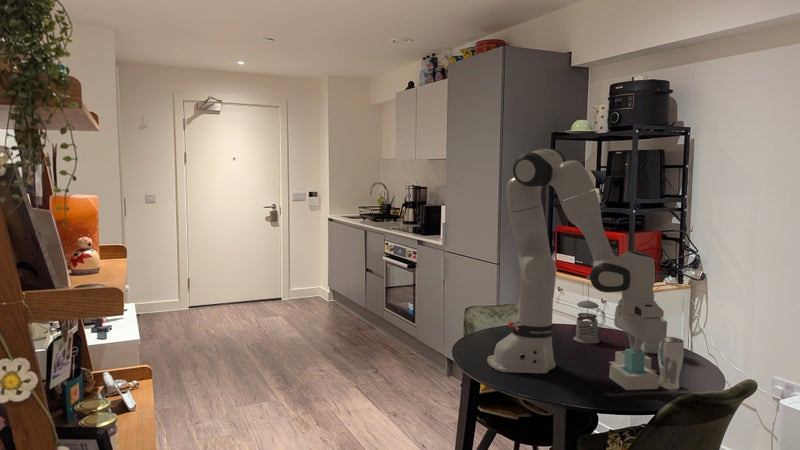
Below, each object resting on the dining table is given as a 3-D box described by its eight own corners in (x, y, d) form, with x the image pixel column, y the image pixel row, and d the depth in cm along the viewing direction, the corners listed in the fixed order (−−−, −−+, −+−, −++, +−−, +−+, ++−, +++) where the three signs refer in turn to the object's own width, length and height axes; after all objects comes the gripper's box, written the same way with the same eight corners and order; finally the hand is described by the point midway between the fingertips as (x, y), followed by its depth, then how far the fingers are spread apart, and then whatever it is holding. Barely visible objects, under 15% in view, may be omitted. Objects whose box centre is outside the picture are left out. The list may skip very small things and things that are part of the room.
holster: (625, 375, 178) (626, 361, 177) (608, 364, 188) (609, 350, 188) (657, 374, 179) (658, 360, 179) (638, 363, 190) (639, 349, 190)
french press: (570, 335, 222) (572, 273, 219) (599, 336, 221) (602, 274, 219) (576, 343, 212) (579, 278, 210) (607, 343, 211) (611, 278, 209)
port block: (626, 393, 163) (627, 376, 163) (609, 380, 173) (609, 365, 173) (658, 391, 165) (658, 375, 164) (639, 379, 174) (639, 363, 174)
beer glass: (673, 383, 171) (676, 336, 170) (686, 392, 164) (689, 343, 163) (651, 383, 171) (654, 336, 170) (662, 392, 164) (665, 343, 163)
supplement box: (665, 356, 198) (667, 321, 196) (643, 354, 199) (645, 320, 198) (660, 350, 205) (662, 316, 204) (639, 348, 206) (640, 315, 205)
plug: (630, 385, 167) (632, 353, 166) (623, 380, 171) (625, 348, 170) (643, 385, 167) (644, 352, 166) (635, 380, 171) (637, 348, 170)
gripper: (610, 297, 176) (608, 340, 178) (646, 313, 156) (644, 361, 157) (628, 297, 177) (626, 339, 178) (667, 312, 157) (665, 360, 158)
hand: (635, 350), depth 168 cm, fingers closed
